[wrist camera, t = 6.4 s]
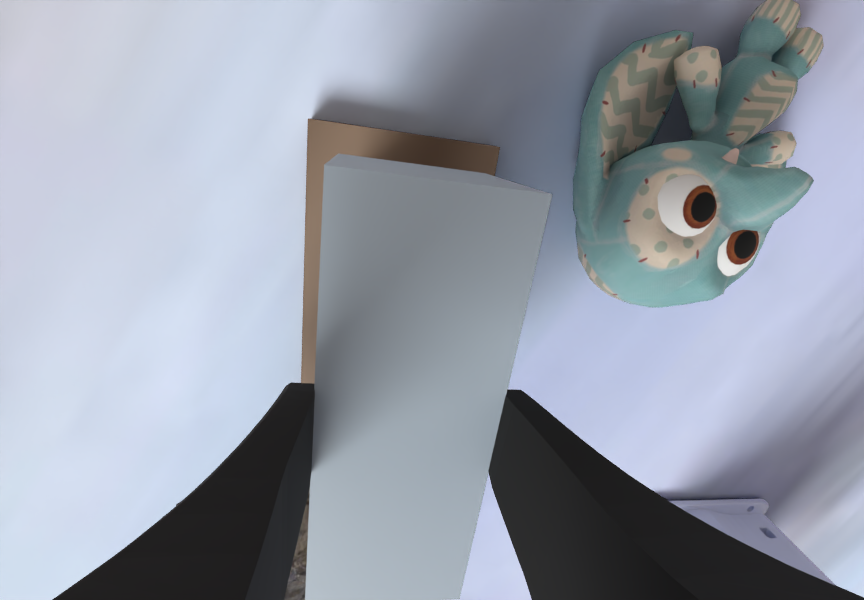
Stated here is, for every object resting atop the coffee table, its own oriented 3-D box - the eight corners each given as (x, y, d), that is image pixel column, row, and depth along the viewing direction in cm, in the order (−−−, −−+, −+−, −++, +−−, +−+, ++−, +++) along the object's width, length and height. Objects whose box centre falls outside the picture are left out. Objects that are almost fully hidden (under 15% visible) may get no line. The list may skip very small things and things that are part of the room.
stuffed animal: (1023, 85, 13) (802, 400, 14) (787, 121, 20) (648, 333, 21) (864, -210, 10) (583, 237, 11) (641, -45, 16) (481, 220, 17)
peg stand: (492, 145, 17) (528, 153, 13) (443, 410, 22) (459, 470, 18) (310, 118, 15) (295, 119, 12) (303, 408, 20) (289, 471, 17)
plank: (485, 173, 13) (552, 194, 8) (433, 474, 17) (459, 598, 13) (338, 153, 12) (323, 164, 8) (320, 476, 16) (304, 609, 12)
